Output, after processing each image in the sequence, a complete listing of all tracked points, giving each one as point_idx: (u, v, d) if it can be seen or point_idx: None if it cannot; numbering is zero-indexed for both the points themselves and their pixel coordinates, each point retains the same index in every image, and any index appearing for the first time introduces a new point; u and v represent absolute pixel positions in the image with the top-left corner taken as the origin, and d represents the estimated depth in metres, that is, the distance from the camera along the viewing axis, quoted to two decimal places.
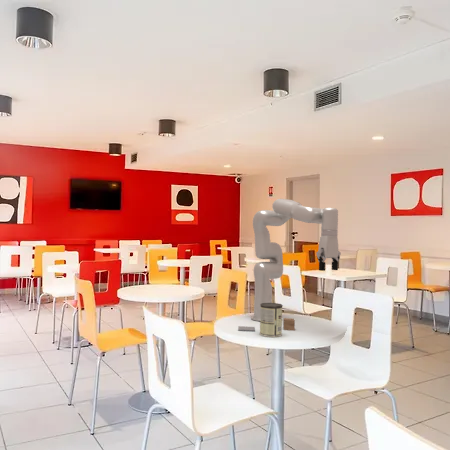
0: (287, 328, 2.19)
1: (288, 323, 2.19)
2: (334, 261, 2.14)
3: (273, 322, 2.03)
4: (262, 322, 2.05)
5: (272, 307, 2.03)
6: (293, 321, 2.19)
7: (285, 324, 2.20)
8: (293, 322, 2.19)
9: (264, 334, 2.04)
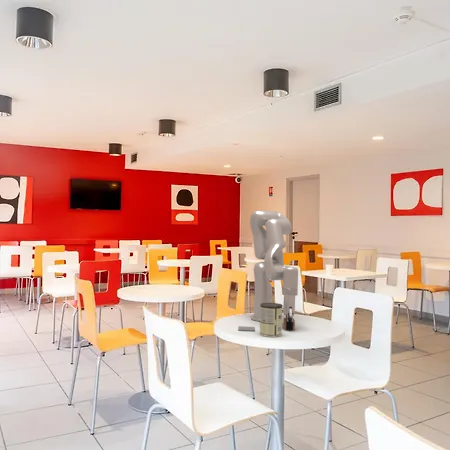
0: None
1: None
2: None
3: (273, 322, 2.03)
4: (262, 322, 2.05)
5: (272, 307, 2.03)
6: (293, 321, 2.19)
7: (285, 324, 2.20)
8: (293, 322, 2.19)
9: (264, 334, 2.04)
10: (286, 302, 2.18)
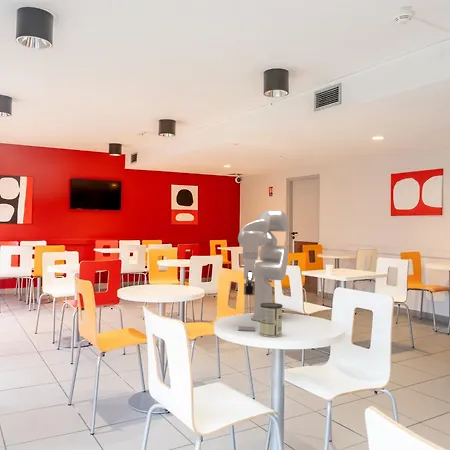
0: None
1: None
2: None
3: (273, 322, 2.03)
4: (262, 322, 2.05)
5: (272, 307, 2.03)
6: (253, 285, 2.16)
7: (245, 288, 2.16)
8: (253, 286, 2.16)
9: (264, 334, 2.04)
10: (245, 266, 2.14)
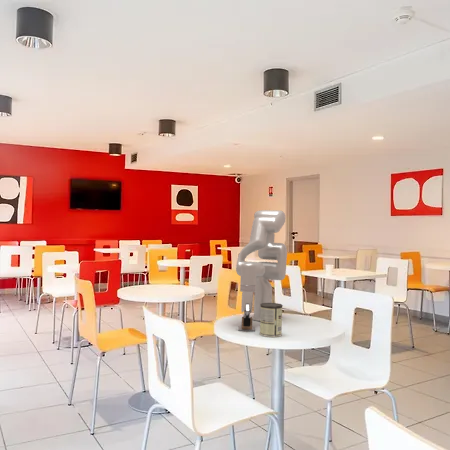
0: (244, 327, 2.15)
1: None
2: None
3: (273, 322, 2.03)
4: (262, 322, 2.05)
5: (272, 307, 2.03)
6: (251, 320, 2.15)
7: (242, 323, 2.15)
8: (251, 320, 2.15)
9: (264, 334, 2.04)
10: (243, 299, 2.14)
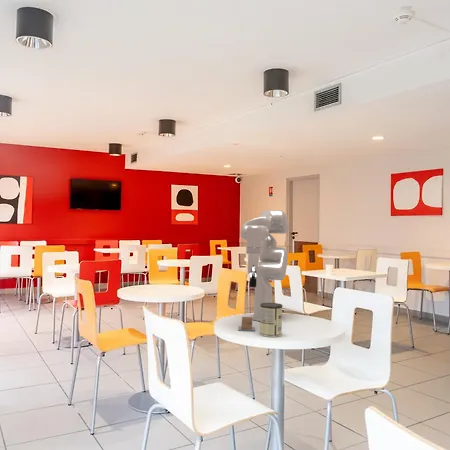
0: (244, 327, 2.15)
1: (245, 322, 2.15)
2: None
3: (273, 322, 2.03)
4: (262, 322, 2.05)
5: (272, 307, 2.03)
6: (251, 320, 2.15)
7: (242, 323, 2.15)
8: (251, 320, 2.15)
9: (264, 334, 2.04)
10: (249, 260, 2.16)
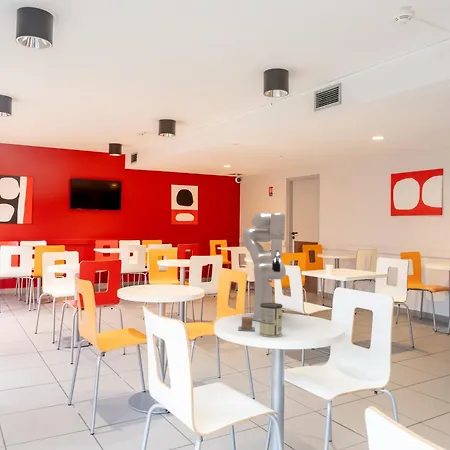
0: (244, 327, 2.15)
1: (245, 322, 2.15)
2: None
3: (273, 322, 2.03)
4: (262, 322, 2.05)
5: (272, 307, 2.03)
6: (251, 320, 2.15)
7: (242, 323, 2.15)
8: (251, 320, 2.15)
9: (264, 334, 2.04)
10: (273, 246, 2.22)
